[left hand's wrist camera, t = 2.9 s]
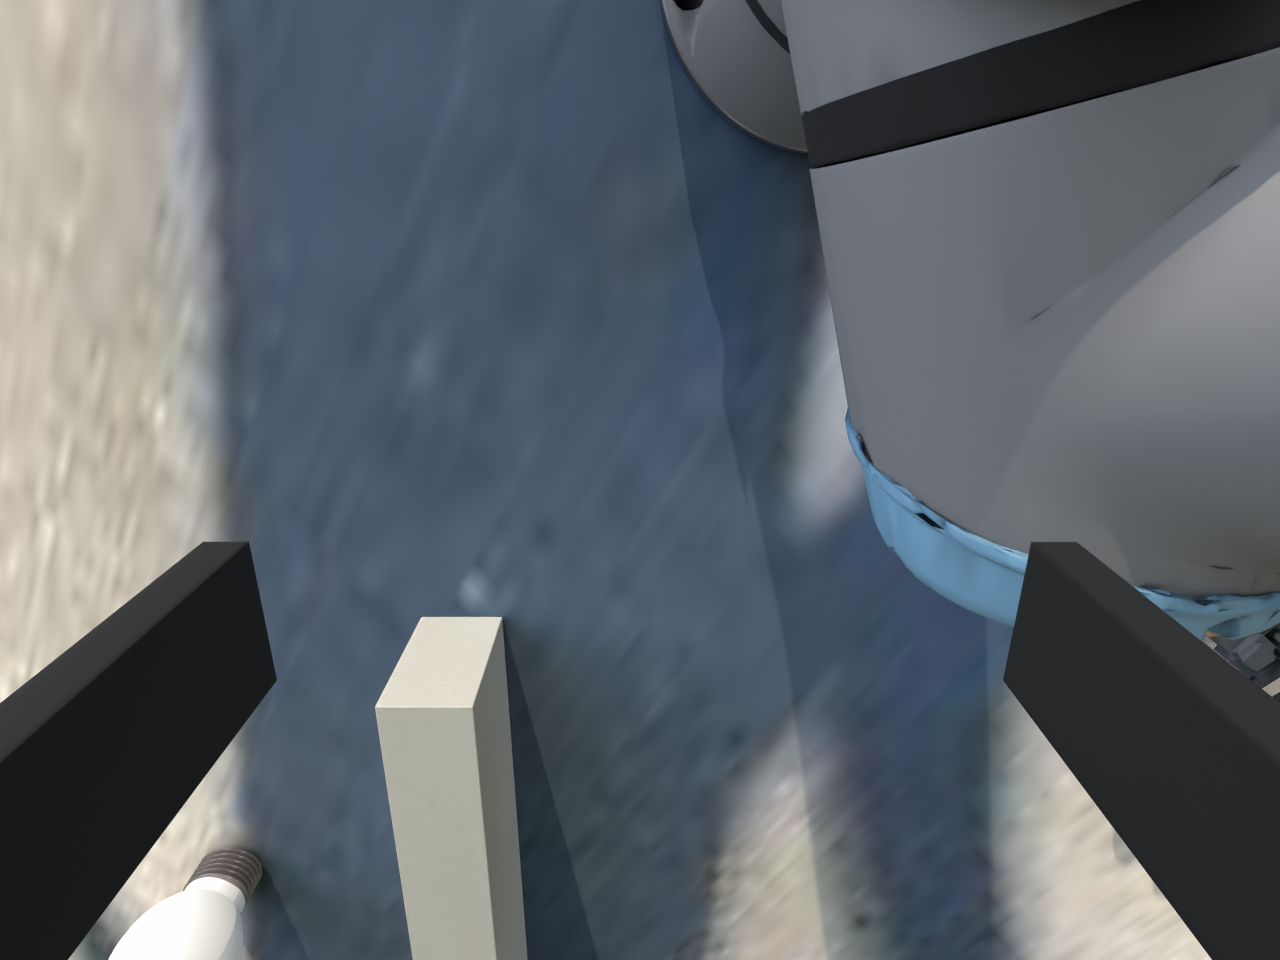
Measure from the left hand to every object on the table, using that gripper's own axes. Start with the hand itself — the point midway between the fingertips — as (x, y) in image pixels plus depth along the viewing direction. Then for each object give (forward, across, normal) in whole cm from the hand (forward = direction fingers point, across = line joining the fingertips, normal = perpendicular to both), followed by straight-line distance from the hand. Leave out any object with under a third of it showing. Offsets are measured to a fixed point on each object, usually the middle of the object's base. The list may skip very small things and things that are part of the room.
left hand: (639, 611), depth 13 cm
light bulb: (+27, -27, -35) cm, 52 cm away
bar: (+27, -10, -34) cm, 44 cm away
